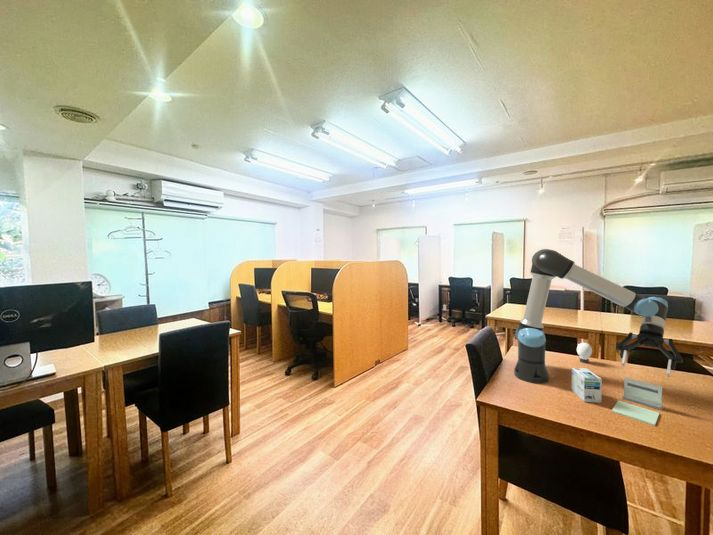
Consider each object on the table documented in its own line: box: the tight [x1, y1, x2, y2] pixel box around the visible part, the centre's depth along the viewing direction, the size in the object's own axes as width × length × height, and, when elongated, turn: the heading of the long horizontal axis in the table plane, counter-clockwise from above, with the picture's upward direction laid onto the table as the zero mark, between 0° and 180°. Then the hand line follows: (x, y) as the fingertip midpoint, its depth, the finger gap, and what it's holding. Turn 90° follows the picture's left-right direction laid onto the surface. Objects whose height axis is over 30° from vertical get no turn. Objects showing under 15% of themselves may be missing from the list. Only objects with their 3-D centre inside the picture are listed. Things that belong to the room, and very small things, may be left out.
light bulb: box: [576, 342, 593, 364], centre depth 161 cm, size 7×7×11 cm
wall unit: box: [622, 376, 664, 411], centre depth 119 cm, size 12×3×9 cm, turn 38°
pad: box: [611, 400, 660, 426], centre depth 113 cm, size 12×11×1 cm
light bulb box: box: [570, 367, 603, 404], centre depth 126 cm, size 11×7×11 cm, turn 168°
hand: (644, 369), depth 122 cm, fingers open, 13 cm apart
